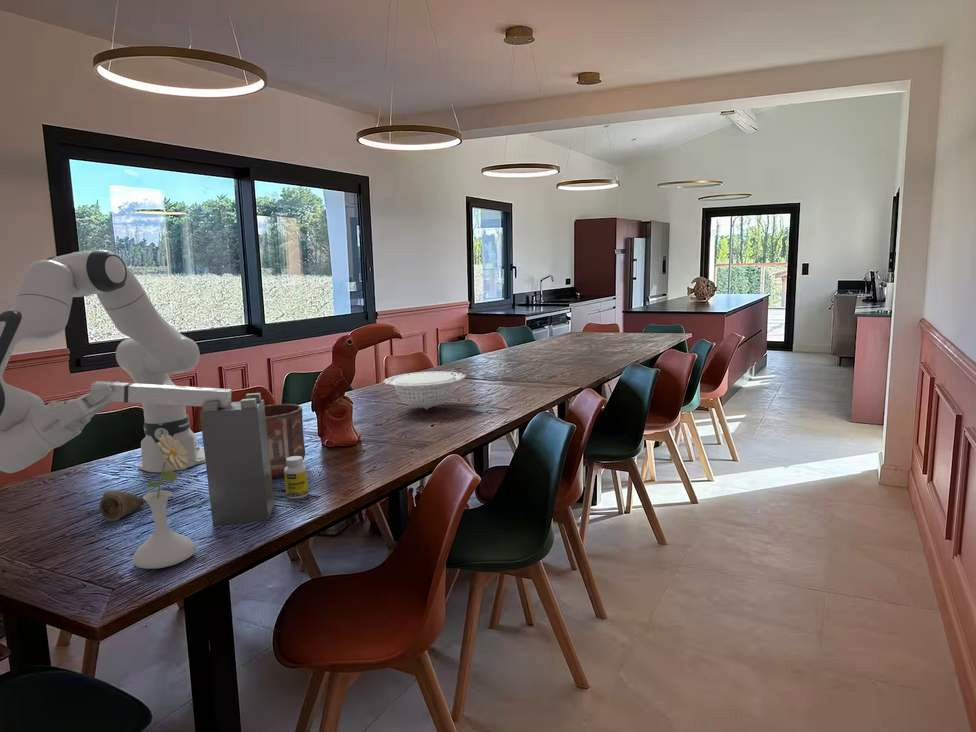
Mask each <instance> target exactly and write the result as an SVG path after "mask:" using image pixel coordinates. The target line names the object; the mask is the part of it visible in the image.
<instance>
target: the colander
mask: <svg viewBox="0 0 976 732" xmlns="http://www.w3.org/2000/svg"><path fill="white" fill-rule="evenodd" d="M466 376H467V375H466V374H463V373H462V372H457V371H455V372H454V371H443V370H439V371H432V370H430V371H419V372H410V373H402V374H401V373H400V374H398V375H397V374H396V375H393V376H392V375H391V376H390V377H388V378H384V380H382V383H384V384H386V385H390V386H394V389H395V391H396V394H397V396H398V398H399V399H400V401H401V402H403V403H404V404H406V405H409V406H412V407H417V408H420V409H422V408H423V409H425V411H428V410H429V408H432V407H433V408H434V407H436V406H437V405H441V404H444V403H446V402H447V401H448V400H449V399H451V396H452V395H453V394H454V390H455V386H456V382H459V381H463V379H465V378H466ZM409 393H410V394H409Z"/></svg>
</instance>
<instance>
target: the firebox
mask: <svg viewBox="0 0 976 732" xmlns="http://www.w3.org/2000/svg"><path fill="white" fill-rule="evenodd" d="M264 406H265V399H262V394H261V392H254V393H246V394H245V398H243V399H241V400H240V401H231V405H230V406H229V407H228V408H221V407H219V402H218V401H215V402H204V403H203V404H202V406H201V407H202V410H201V411H200V412H199V416H200V426H201V434H202V435H201V436H202V440H203V441H202V442H203V448H204V453H205V468H206V477H207V486H208V495H209V502H210V511H211V512H210V513H211V520H212V527H218V526H217V525H220V526H226V524H229V525H235V523H238V524H243V523H244V524H245V522H246V523H254V522H253V521H255V522H263V521H262V520H264V521H269V520H270V517H271V514H272V513H273V510H274V507H275V499H274V498H275V497H274V488H273V480H272V479H273V478H272V476H271V466H270V457H269V447H268V437H267V427H266V417H265V407H264Z"/></svg>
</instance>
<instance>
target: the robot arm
mask: <svg viewBox="0 0 976 732" xmlns="http://www.w3.org/2000/svg"><path fill="white" fill-rule="evenodd" d="M91 295H96V296H97V298H98V300H99V302H100V305H102V307H103V309H104V310H105V312H106V313H107V315H108V317H109V318H110V320H111V322H112V323H113V325H114V326H115V328H116V329H117V330H118V332H120V333H121V334H123V335H124V336H127V337H129V338H127V339H124V340H122V341H120V343H118V345H117V347H116V350H115V360H116V362H117V364H118V365H119V367H120V368H121V369H122V370H124V371H125V372H126V373H127V374H128V375H129V376H130V378H131V379H132V381H133V383H137V384H153V385H170V386H177V385H176V384H175V383H174V382H173V381H172V379H171V377H170V375H169V374H180V373H185V372H189V371H192V370H194V368H196V367H197V365H198V363H199V361H200V356H201V354H200V349H199V345H198V344H197V343H196V342H195V340H194V339H191V337H190V338H189V337H187V336H185V335H183V334H182V333H180V332H179V331H178V330H177V329H175V328H174V327H173V326H172V325H171V324H169V322H168V321H166V320H165V318H163V317H162V316H161V314H160V313H159V312H158V311H157V309H156V308H155V306H154V305H153V303H152V301H151V299H150V298H149V296H148V295H147V292H146V291H145V290H144V288H143V286H142V284H141V283H140V281H139V279H137V276H135V274H134V273H133V272H132V271H131V270H130V268H129V267H128V266H127V265H126V263H125V262H124V260H123V259H122V258H121V257H120V255H118V254H117V253H115V252H113V251H111V250H106V249H95V250H84V251H83V250H82V251H81V250H80V251H74V252H71V253H67V254H62V255H59V256H57V255H56V256H50V257H48V258H46V259H42V260H41V259H40V260H36V261H34V262H32V263H31V264H30V265H29V266H28V268H27V270H26V271H25V272H24V275H23V276H22V279H21V281H20V283H19V286H18V288H17V290H16V294H15V297H14V300H13V303H12V306H10V308H9V310H6V311H3V312H1V313H0V472H2V473H7V474H13V473H17V472H20V471H21V470H24V469H26V468H28V467H29V466H31V465H33V464H35V463H36V462H38V461H39V460H41V459H43V458H45V457H46V456H47V455H48V454H49V453H50V451H52V450H54V449H56V448H59V447H61V446H63V445H65V444H66V443H68V442H69V441H71V440H72V439H74V438H75V437H77V436H79V435H80V434H81V433H82V432H83V430H84V428H85V426H86V425H87V424H88V423H90V422H91V421H92V420H91V419H92V418H93V417H94V416H95V415H97V414H98V413H99V412H100V411H101V410H102V409H104V408H105V407H107V406H108V405H109V404H110V403H112V402H113V401H101V400H102V399H103V398H105V397H106V396H108V395H109V394H111V393H112V392H114V389H113V388H112V386H111V385H107V386H105V387H104V388H102V389H101V390H99V391H97V392H95V393H93V394H91V391H90V392H88V393H86V394H83V395H81V396H79V397H76V398H71V399H66V400H60V401H59V400H53V401H50V402H49V403H48V404H46V402H45V401H44V399H43V398H42V397H40V396H38V395H37V394H35V393H32V392H30V391H27V390H25V389H22V388H19V387H18V386H17V387H16V386H14V385H11V384H9V383H7V382H5V380H4V377H3V374H4V372H5V369H6V368H7V365H8V362H9V361H10V359H11V356H12V354H13V351H14V349H15V347H16V346H17V345H18V343H20V342H39V341H48V340H51V339H53V338H55V337H57V336H59V335H60V334H62V333H63V332H64V330H65V329H66V326H67V325H68V322H69V318H70V315H71V314H70V313H71V310H72V309H71V308H72V304H73V298H83V297H89V296H91ZM115 382H120V381H119V380H116V381H115ZM141 404H142V410H143V416H144V422H143V430H144V435H145V437H144V438H143V439H142V440H141V441H140V448H141V449H140V451H141V463H139V464H138V465H137V470H143V471H146V472H148V473H161V472H162V467H163V464H164V460H163V456H161V454H160V451H159V449H158V447H159V446H158V442H160V441H159V438H161V435H163V436H164V437H165V436H166V435H167V434H168V435H169V436H172V438H173V439H174V440H175V441H176V440H178V441H179V442H180V445H181V446H183V447H184V450H186V451H187V455H185V456H186V457H188V462H189V463H188V464H186V463H184V465H185V467H186V469H187V468H191V467H193V466H197V465H201V464H204V463H206V461H205V453H204V447H199V445H198V439H197V438H198V437H197V435H196V434H195V433H194V431H192V430H191V425H190V415H189V414H187V412H186V406H185V405H167V404H149V403H141ZM166 470H171V471H173V472H175V471H178V470H177V469H176V468H174V469H172V468H171V466H170V465H168V464H167V463H166V464H165V467H164V472H165V471H166ZM180 470H181V469H180V468H179V471H180ZM164 472H163V473H164Z"/></svg>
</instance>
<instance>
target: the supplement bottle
mask: <svg viewBox="0 0 976 732" xmlns="http://www.w3.org/2000/svg"><path fill="white" fill-rule="evenodd" d="M286 465H287V467H286V468H285V469H284V476H285V477H284V484H285V496H286V498H287V499H290V500H297V499H302V498H305V497H307V496H308V495H309V484H308V483H309V482H308V471H307V467H306V465H305V464H304V460H303V458H302V457H301V456H292V457H288V458H286Z"/></svg>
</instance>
